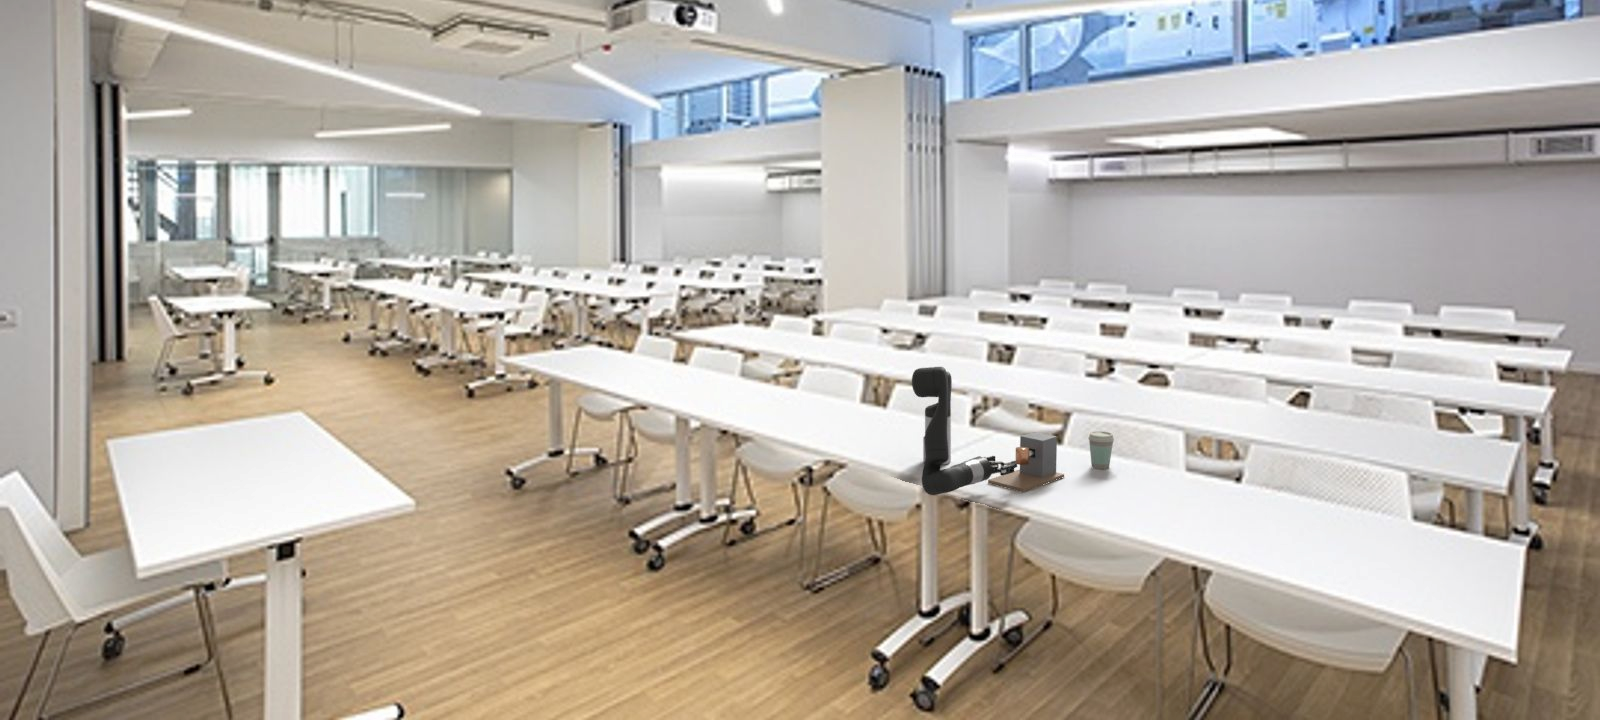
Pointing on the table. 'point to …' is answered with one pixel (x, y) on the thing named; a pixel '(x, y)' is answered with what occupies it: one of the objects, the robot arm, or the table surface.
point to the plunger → (1023, 455)
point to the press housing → (1033, 464)
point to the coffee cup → (1100, 449)
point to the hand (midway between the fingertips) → (1005, 461)
